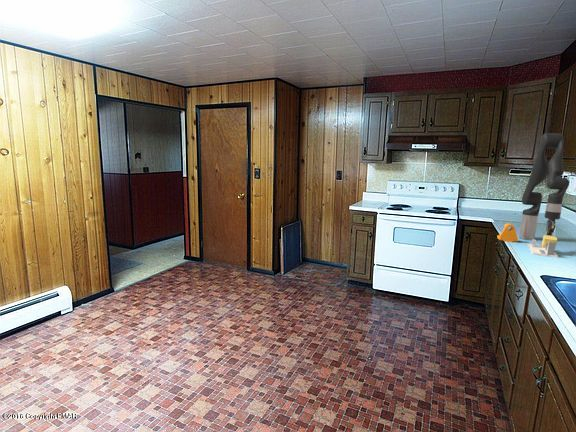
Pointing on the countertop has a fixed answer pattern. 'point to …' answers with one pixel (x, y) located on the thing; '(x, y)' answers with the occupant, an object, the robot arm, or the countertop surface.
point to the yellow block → (548, 240)
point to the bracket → (508, 234)
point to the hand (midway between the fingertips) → (548, 238)
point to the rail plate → (543, 249)
